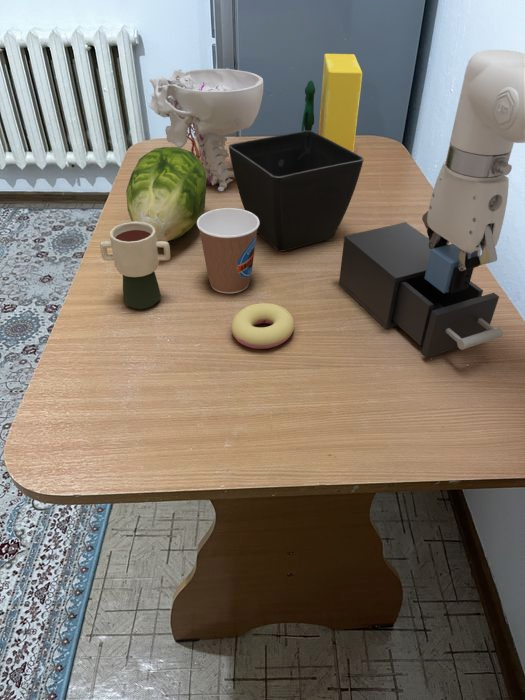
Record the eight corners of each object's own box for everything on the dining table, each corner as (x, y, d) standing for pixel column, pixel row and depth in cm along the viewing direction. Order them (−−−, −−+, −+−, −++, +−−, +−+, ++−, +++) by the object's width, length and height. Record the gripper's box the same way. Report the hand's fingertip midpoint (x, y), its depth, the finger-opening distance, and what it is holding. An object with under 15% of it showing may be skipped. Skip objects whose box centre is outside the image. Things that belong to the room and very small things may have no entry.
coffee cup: (248, 304, 95) (248, 240, 88) (191, 293, 98) (186, 230, 90) (265, 273, 103) (267, 212, 95) (213, 264, 105) (210, 204, 98)
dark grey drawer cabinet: (448, 311, 95) (461, 260, 89) (385, 329, 90) (395, 278, 84) (396, 269, 105) (405, 222, 99) (338, 284, 101) (344, 235, 94)
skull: (260, 167, 142) (261, 68, 128) (263, 199, 128) (265, 91, 113) (161, 167, 141) (150, 67, 127) (152, 199, 127) (139, 91, 112)
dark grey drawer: (505, 354, 84) (521, 312, 80) (444, 375, 81) (457, 332, 76) (430, 294, 97) (440, 254, 92) (374, 309, 93) (381, 269, 88)
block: (467, 286, 83) (476, 256, 80) (443, 293, 81) (451, 263, 78) (447, 272, 86) (455, 242, 83) (424, 278, 85) (430, 248, 81)
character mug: (176, 289, 99) (170, 221, 90) (173, 313, 93) (165, 242, 85) (114, 289, 98) (101, 221, 90) (106, 313, 93) (92, 242, 84)
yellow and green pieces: (297, 152, 151) (303, 53, 136) (344, 153, 151) (354, 54, 135) (299, 178, 137) (305, 71, 122) (350, 179, 137) (362, 72, 122)
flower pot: (228, 223, 118) (226, 142, 108) (305, 205, 125) (310, 128, 115) (272, 264, 105) (275, 177, 95) (355, 242, 113) (366, 159, 102)
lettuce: (116, 265, 104) (102, 185, 95) (147, 203, 125) (138, 132, 115) (196, 269, 104) (190, 189, 94) (214, 206, 124) (211, 135, 115)
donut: (301, 345, 90) (264, 312, 95) (309, 323, 87) (271, 289, 92) (253, 363, 84) (217, 327, 89) (260, 340, 81) (222, 303, 86)
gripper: (550, 178, 68) (506, 305, 79) (456, 135, 79) (430, 251, 91) (502, 189, 65) (464, 318, 77) (412, 143, 77) (391, 260, 88)
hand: (446, 280), depth 84 cm, fingers closed on block, 4 cm apart
